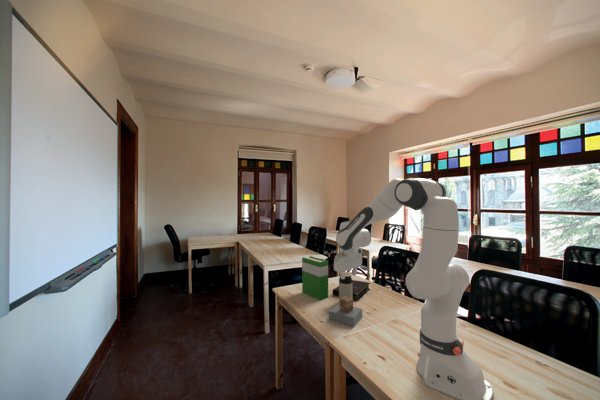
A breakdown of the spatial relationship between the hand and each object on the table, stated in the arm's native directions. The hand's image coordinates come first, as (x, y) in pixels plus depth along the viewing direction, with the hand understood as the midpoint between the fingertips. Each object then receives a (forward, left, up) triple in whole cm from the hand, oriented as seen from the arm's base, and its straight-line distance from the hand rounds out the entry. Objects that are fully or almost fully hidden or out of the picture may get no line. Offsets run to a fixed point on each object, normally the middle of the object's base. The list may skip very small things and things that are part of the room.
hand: (348, 277), depth 128 cm
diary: (+22, -32, -23) cm, 45 cm away
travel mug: (+13, -14, -22) cm, 29 cm away
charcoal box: (+1, +1, -23) cm, 23 cm away
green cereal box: (+35, -9, -22) cm, 43 cm away
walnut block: (+1, +1, -18) cm, 18 cm away
